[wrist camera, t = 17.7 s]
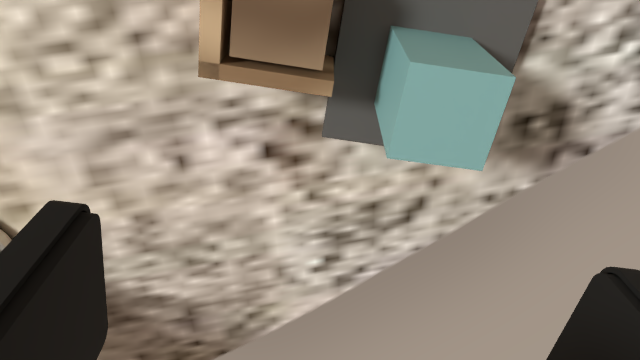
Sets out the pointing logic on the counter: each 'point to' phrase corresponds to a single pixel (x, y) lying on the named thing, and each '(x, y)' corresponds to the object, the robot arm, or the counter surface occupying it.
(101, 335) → the robot arm
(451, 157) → the block
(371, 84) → the pad
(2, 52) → the counter surface
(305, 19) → the rack
